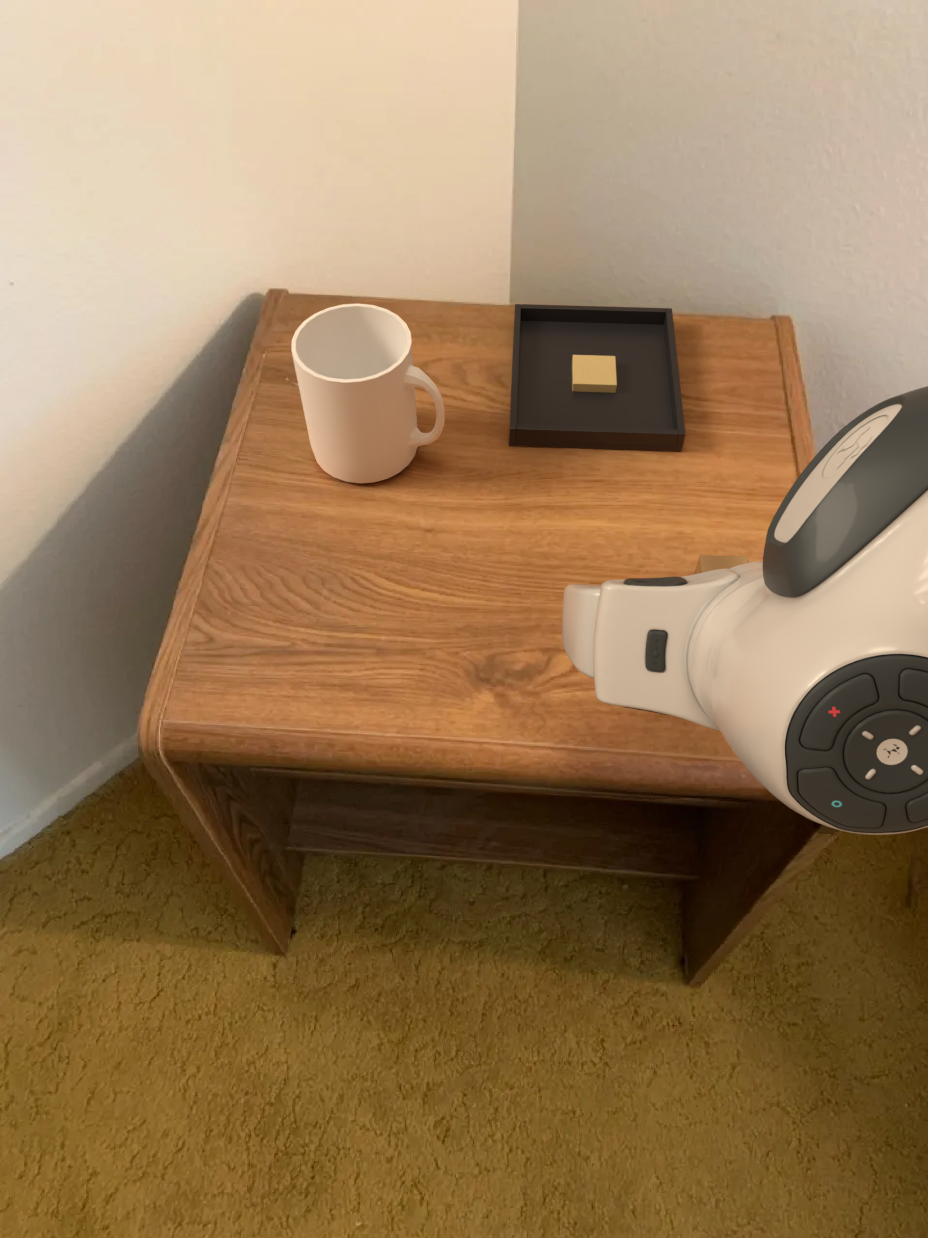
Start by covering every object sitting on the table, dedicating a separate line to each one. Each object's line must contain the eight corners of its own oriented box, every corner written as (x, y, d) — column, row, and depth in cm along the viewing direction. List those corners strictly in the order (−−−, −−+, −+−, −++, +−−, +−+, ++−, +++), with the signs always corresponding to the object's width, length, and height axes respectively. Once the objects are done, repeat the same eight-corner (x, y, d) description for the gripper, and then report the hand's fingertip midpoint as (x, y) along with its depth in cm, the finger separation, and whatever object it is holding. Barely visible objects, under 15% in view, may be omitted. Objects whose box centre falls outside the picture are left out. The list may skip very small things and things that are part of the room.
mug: (320, 409, 85) (300, 302, 75) (450, 413, 84) (447, 305, 75) (305, 486, 80) (282, 381, 70) (444, 490, 79) (440, 384, 69)
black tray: (668, 325, 91) (672, 307, 89) (681, 451, 81) (685, 434, 80) (514, 321, 92) (514, 303, 90) (508, 445, 82) (509, 428, 80)
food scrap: (614, 364, 87) (615, 355, 86) (615, 393, 85) (617, 384, 84) (571, 362, 87) (572, 354, 86) (572, 391, 85) (573, 383, 84)
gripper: (985, 596, 46) (877, 562, 60) (573, 582, 47) (560, 551, 61) (968, 718, 47) (867, 657, 61) (567, 702, 48) (555, 645, 62)
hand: (711, 604), depth 61 cm, fingers closed on scrub brush, 3 cm apart
